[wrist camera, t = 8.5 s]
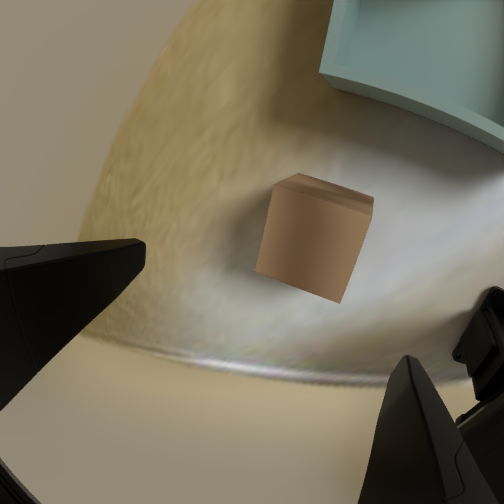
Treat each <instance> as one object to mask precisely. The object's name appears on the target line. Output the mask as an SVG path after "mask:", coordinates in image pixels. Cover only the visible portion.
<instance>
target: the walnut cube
mask: <svg viewBox="0 0 504 504" xmlns="http://www.w3.org/2000/svg"><path fill="white" fill-rule="evenodd" d="M373 202H374V197H371V196H369V195H366V194H363V193H360V192H357V191H354V190H351V189H348V188H345V187H342V186H339V185H336V184H333V183H330V182H326V181H323V180H320V179H317V178H313V177H310V176H307V175H304V174H300V173H298V174H296V175H294V176H292V177H289V178H287V179H285V180H283V181H281V182H279V183H277V184H274V187H273V191H272V196H271V200H270V205H269V209H268V214H267V218H266V223H265V227H264V232H263V236H262V240H261V245H260V249H259V254H258V258H257V263H256V267H255V272H257V273H260V274H262V275H265V276H268V277H270V278H273V279H276V280H278V281H281V282H283V283H286V284H289V285H291V286H294V287H297V288H299V289H302V290H304V291H307V292H310V293H312V294H315V295H318V296H320V297H323V298H326V299H328V300H331V301H334V302H336V303H339V304H340V302H341V299H342V297H343V294H344V292H345V289H346V287H347V284H348V282H349V279H350V277H351V274H352V271H353V269H354V266H355V263H356V261H357V258H358V255H359V253H360V250H361V247H362V244H363V241H364V239H365V236H366V233H367V230H368V227H369V224H370V221H371V218H372V212H373Z"/></svg>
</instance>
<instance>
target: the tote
mask: <svg viewBox="0 0 504 504" xmlns="http://www.w3.org/2000/svg"><path fill="white" fill-rule="evenodd" d="M319 73H320V74H321V75H322V76H323V77H324V78H325V79H326V80H327V81H328V83H329V84H330V85H331V86H332V87H333V88H335V89H339V90H342V91H346V92H350V93H354V94H357V95H361V96H364V97H368V98H371V99H374V100H377V101H381V102H384V103H387V104H390V105H393V106H396V107H399V108H401V109H404V110H407V111H410V112H413V113H415V114H418V115H421V116H423V117H426V118H428V119H431V120H433V121H436V122H438V123H440V124H443V125H445V126H448V127H450V128H452V129H454V130H457V131H459V132H461V133H463V134H465V135H467V136H470V137H472V138H474V139H476V140H478V141H480V142H482V143H484V144H486V145H488V146H490V147H492V148H493V149H495V150H497V151H499V152H501V153H503V154H504V0H334V3H333V8H332V13H331V17H330V22H329V27H328V32H327V36H326V41H325V46H324V50H323V55H322V60H321V64H320V69H319Z"/></svg>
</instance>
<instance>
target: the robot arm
mask: <svg viewBox="0 0 504 504" xmlns="http://www.w3.org/2000/svg"><path fill="white" fill-rule="evenodd" d="M145 258H146V244H145V243H144V242H143V241H141V240H139V239H136V238H131V239H116V240H101V241H87V242H74V243H60V244H48V245H36V246H18V247H0V411H1V410H2V409H3V408H4V407H5V406H6V405H7V404H8V403H9V402H10V401H11V400H12V399H13V398H14V397H15V396H16V395H17V394H18V393H19V391H20V390H22V389H23V387H24V386H25V385H26V384H27V383H28V382H29V381H30V380H31V379H32V378H33V377H34V376H35V375H36V374H37V372H39V371H40V370H41V369H42V368H43V367H44V366H45V365H46V364H47V363H48V362H49V361H50V360H51V359H52V358H53V357H54V356H55V355H56V354H57V353H58V352H59V351H60V350H61V349H62V348H63V347H65V345H66V344H68V343H69V342H70V341H71V340H72V339H73V338H74V337H75V336H76V335H77V334H78V333H79V332H80V331H81V330H82V329H83V328H85V327H86V326H87V325H88V324H89V323H90V322H91V321H92V320H93V319H94V318H95V317H96V316H98V315H99V314H100V313H101V312H102V311H103V310H104V309H105V308H106V307H107V306H108V305H110V304H111V303H112V302H113V301H114V300H115V299H116V298H117V297H118V296H119V295H120V294H121V293H122V292H123V291H124V290H125V288H126V287H127V286H128V285H129V284H130V283H131V282H132V281H133V280H134V279H135V277H136V276H137V275H138V274H139V273H140V272H141V271H142V270H143V268H144V266H145ZM496 292H498V293H497V295H496V296H493V295H494V293H496ZM457 354H460V355H457ZM452 356H453V359H454V360H455V361H457V362H460V363H463V364H466V367H467V371H468V376H469V377H471V378H472V382H473V387H474V392H475V397H476V400H478V401H480V402H479V403H478V404H477V405H475V406H474V407H473V408H472V409H470V410H469V411H468V412H467V413H465V414H462V415H460V416H459V417H458V418H457V419H456V422H455V423H454V421H453V419H452V417H451V415H450V413H449V412H448V410H447V408H446V406H445V404H444V403H443V401H442V399H441V398H440V396H439V394H438V392H437V390H436V389H435V387H434V385H433V384H432V382H431V380H430V378H429V377H428V375H427V373H426V372H425V370H424V368H423V367H422V365H421V363H420V362H419V360H418V359H417V358H415V357H412V356H410V355H405V356H404V357H403V358H402V359H401V361H400V362H399V363H398V365H397V366H396V368H395V369H394V370H393V372H392V373H391V375H390V378H389V381H388V385H387V388H386V392H385V396H384V399H383V403H382V407H381V410H380V413H379V417H378V421H377V425H376V430H375V435H374V440H373V445H372V450H371V454H370V458H369V463H368V467H367V471H366V475H365V479H364V483H363V486H362V490H361V493H360V497H359V500H358V504H504V289H502V288H500V287H497V286H495V287H493V288H491V290H490V291H489V293H488V295H487V297H486V299H485V300H484V302H483V304H482V306H481V307H480V309H479V311H477V312H476V313H475V315H474V317H473V318H472V320H471V322H470V323H469V325H468V327H467V328H466V330H465V332H464V333H463V335H462V336H461V338H460V342H459V343H458V345H457V346H456V348H455V349H454V351H453V353H452ZM0 504H41V503H40V502H39V501H38V500H37V499H36V498H35V497H34V496H33V495H32V494H31V493H30V492H29V490H28V489H27V488H26V487H25V486H24V485H23V484H22V483H21V482H20V481H19V480H18V478H17V477H16V476H15V475H14V474H13V473H12V472H11V470H10V469H9V468H8V467H7V466H6V465H5V463H4V462H3V461H2V459H1V458H0Z"/></svg>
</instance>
